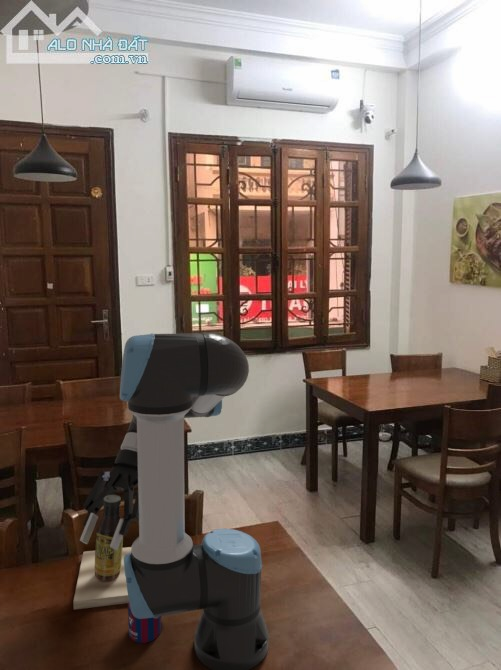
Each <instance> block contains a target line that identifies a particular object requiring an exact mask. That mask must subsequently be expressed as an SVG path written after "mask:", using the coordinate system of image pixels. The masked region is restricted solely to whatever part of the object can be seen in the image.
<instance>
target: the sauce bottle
mask: <svg viewBox="0 0 501 670" xmlns="http://www.w3.org/2000/svg"><path fill="white" fill-rule="evenodd" d="M121 503H122V498H121V496H120V495H118V494H112V495H107V496H105V497H104V499H103V511H102V517H101V519H100V520H99V523H98V527H97V529H96V536H95V537H96V539H95V550H94V551H95V568H94V570H95V576H96V578H97V579H99V580H102V581H111V580H113V579H115V578H117V577H118V576H119V574H120V570H121V561H122V548H123V543H124V542H123V541H124V535H123V536H122V539H121V542H120V545H119V547H118V550H114V549H112V548H111V547H110V544H111V542H112V539H113V536H114V534H115V531H116V528H117V526H118V523H119V520H120V518H121V516H120V513H121V512H120V506H121Z"/></svg>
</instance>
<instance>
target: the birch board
mask: <svg viewBox="0 0 501 670" xmlns="http://www.w3.org/2000/svg"><path fill="white" fill-rule="evenodd" d="M131 547H132V546H128V547H127V546H126V547H122V561H121V570H120V574H119V576H118V577H117V578H115V579H113V580H111V581H102V580H99V579H97V578H96V576H95V570H94V568H95V551H96V550H87V551H83V553H82V557H81V563H80V566H79V572H78V578H77V582H76V586H75V593H74V597H73V611H74V610H82V609H89V608H99V607H106V606H115V605H125V604H128V602H129V598H128V592H127V583H126V576H125V569H124V556H125V555H127V554H129V553H131Z"/></svg>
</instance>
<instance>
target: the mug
mask: <svg viewBox="0 0 501 670" xmlns="http://www.w3.org/2000/svg"><path fill="white" fill-rule="evenodd" d="M127 616H128V617H127V620H128V624H127V626H128V637H129V638H130V640H131V641H133V642H135V643H141V644H146V643H149V642H152V641H154V640H155V639H157V638H158V636H159V635H160V634H161V631H162V617H163V616H160V617H158V618H144V619H138V618H136V617H134V615H133V614H132V612H131V608H130V603H129V602H128V603H127Z"/></svg>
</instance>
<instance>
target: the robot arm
mask: <svg viewBox="0 0 501 670" xmlns="http://www.w3.org/2000/svg"><path fill="white" fill-rule="evenodd" d="M121 361H122V363H121V372H120V384H119V385H120V386H119V399H120V401H123V402H127V409H128V411H129V413H131V414H132V419H131V421H130V424H129V427H128V429H127V431H126V434H125V436H124V439H123V441H122V443H121V444H120V450H118V453H117V455H116V458H115V460H114V464H113V467H112V468H111V469H110V470H109V471H104V470H100V471H99V472H98V476H97V479H96V481H95V483H94V485H93V486H92V488H91V490H90V492H89V494H88V495H87V497H86V499H85V501H84V503H83V504H82V508H83V509H84V510H86V511H87V514H86V516H85V519H84V522H83V527H84V529H83V530H82V532H81V533H82V534H81V535H80V539H79V541H80V542H82V543H83V544H85V545H88V544H89V541H90V539H91V537H92V534H93V532H94V529H95V526H96V523H97V521H98V519H99V516H98V513H99V512H100V511H101V509H102V508H104V505H103V499H104V497H105V496H107V495H114V494H116V492H117V491H123V492H124V497H123V498H124V499H123V502H124V503H123V516H122V518H121V517H120V520H119V523H118V526H117V528H116V531H115V534H114V536H113V539H112V542H111V544H110V547H111V548H112V549H114V550H118V547H119V545H120V542H121V539H122V536H123V537H124V536H125V537H126V535H128V531H129V528H130V526H131V523H132V522H138V533H139V534H138V535H139V536H138V537H137V538H136V539H135V540H134V541H133V542H132V545H131V546H130V547H131V553H129V554H127V555H125V556H124V569H125V576H126V583H127V592H128V598H129V603H130V608H131V612H132V614H133V615H134V617H136V618H138V619H144V618H158V617H160V616H162V617H165V616H171V615H177V614H181V613H187V612H195V611H198V610H202V612H201V615H200V618H199V620H198V623H197V626H196V628H195V633H194V651H195V655H196V657H197V658H198V660H199V661H200V663H202V664H203V665H204V666H205V667H207V668H208V669H211V670H251V669H253V668H255V667H257V666H259V664H260V663H261V662H262V661H263V660H264V659H265V657H266V656H267V654H268V650H269V631H268V627H267V625H266V621H265V619H264V616H263V612H262V610H261V597H262V596H261V595H262V594H261V592H262V591H261V590H262V569H263V563H262V551H261V546H260V545H259V543H258V541H257V540H256V539H255V538H254V537H253V536H251V535H250V534H248V533H246V532H243V531H242V530H237V529H235V528H234V529H232V528H217V529H214V530H211V531H210V532H207V533H205V535H204V537H203V539H202V541H201V543H198V544H193V540H192V537H191V536H190V535H188V534H187V533H186V531H185V529H186V528H185V525H186V524H185V515H186V514H185V509H186V508H185V419H191V418H210V417H214V416H216V417H217V416H219V415H220V414H221V413H222V409H223V399H224V398H225V397H228V396H231V395H234V394H236V393H237V392H238V391H240V390H241V389H242V387H243V386H244V385H245V383H246V382H247V379H248V377H249V372H250V368H249V367H250V365H249V361H248V358H247V356H246V353H245V352H244V351H243V349H241V347H240V346H239V345H238V344H237V343H235V342H234V341H233V340H231V339H229V338H227V337H226V336H224V335H220V334H218V333H212V332H211V333H210V332H197V333H196V332H195V333H150V334H149V333H148V334H138V335H137V334H136V335H132V336H130V337H129V338H127V340H126V342H125V343H124V348H123V355H122V360H121ZM109 479H110V480H109ZM136 485H137V491H136V496H135V500H134V494H135V491H134V490H135V486H136Z"/></svg>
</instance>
